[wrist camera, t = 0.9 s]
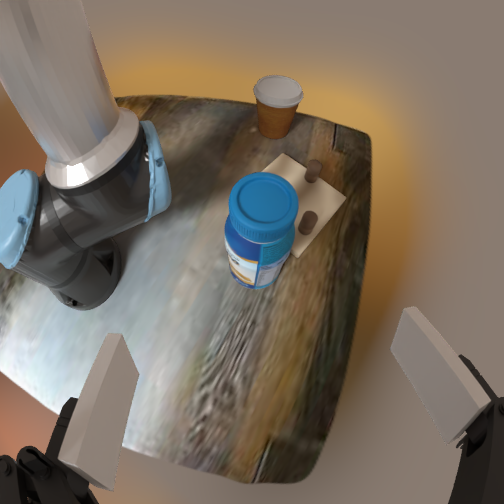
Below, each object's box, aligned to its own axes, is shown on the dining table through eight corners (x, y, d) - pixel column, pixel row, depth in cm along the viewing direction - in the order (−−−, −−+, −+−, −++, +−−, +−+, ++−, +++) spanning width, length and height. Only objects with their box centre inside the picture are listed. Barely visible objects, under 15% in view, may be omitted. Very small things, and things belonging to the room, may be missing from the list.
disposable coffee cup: (299, 144, 54) (310, 101, 42) (254, 145, 53) (257, 100, 42) (290, 115, 57) (297, 74, 46) (249, 116, 56) (250, 74, 45)
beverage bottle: (280, 292, 42) (309, 244, 24) (226, 288, 42) (213, 235, 24) (282, 243, 45) (307, 168, 27) (231, 238, 45) (225, 160, 27)
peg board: (230, 204, 48) (228, 187, 42) (282, 157, 52) (285, 139, 47) (297, 258, 45) (304, 245, 39) (344, 201, 49) (353, 185, 44)
